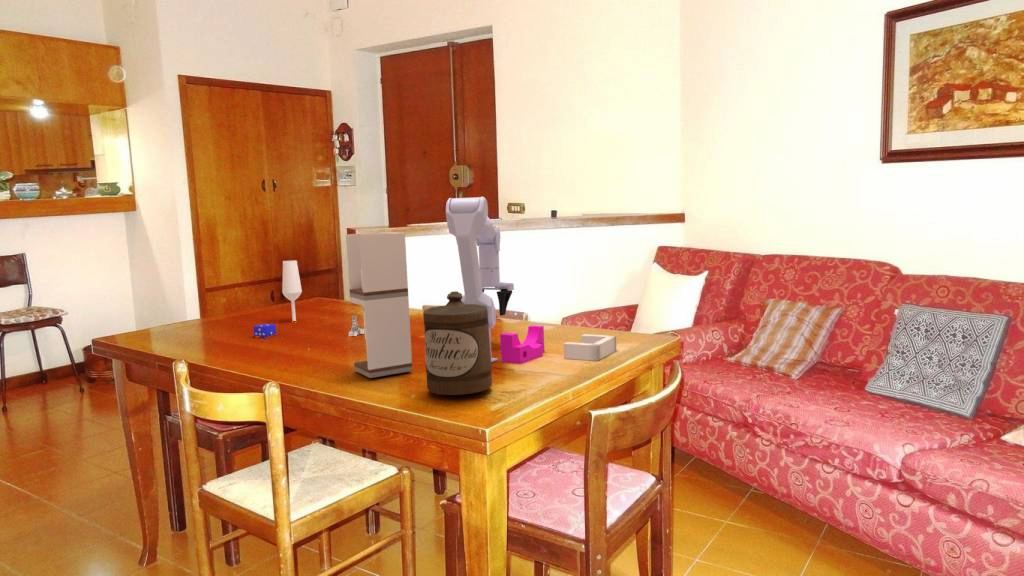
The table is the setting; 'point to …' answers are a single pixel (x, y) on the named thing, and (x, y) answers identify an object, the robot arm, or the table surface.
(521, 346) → the toy block
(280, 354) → the table surface
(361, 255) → the grey stacked tower
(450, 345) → the wooden container
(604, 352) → the block holder
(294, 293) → the champagne flute
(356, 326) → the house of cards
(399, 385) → the table surface
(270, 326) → the die
